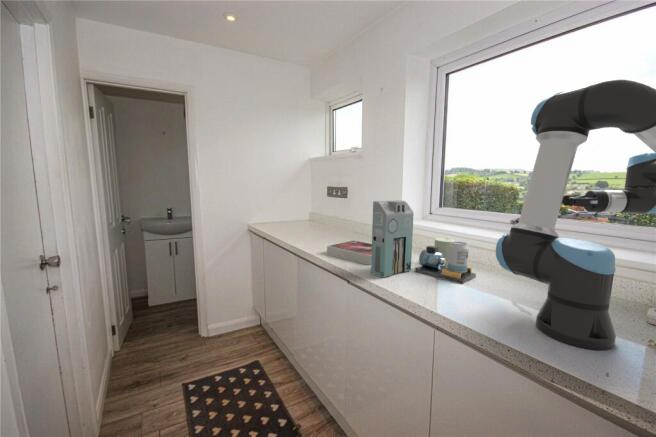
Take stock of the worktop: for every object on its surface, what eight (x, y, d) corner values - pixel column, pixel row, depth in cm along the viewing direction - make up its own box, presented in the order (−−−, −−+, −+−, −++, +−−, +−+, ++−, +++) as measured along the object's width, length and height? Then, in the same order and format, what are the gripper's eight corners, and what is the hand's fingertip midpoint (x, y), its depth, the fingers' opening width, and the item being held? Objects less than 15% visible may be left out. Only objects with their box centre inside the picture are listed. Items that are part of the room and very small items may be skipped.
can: (457, 263, 135) (458, 238, 134) (449, 267, 128) (451, 241, 127) (437, 260, 141) (439, 236, 140) (429, 263, 135) (431, 238, 133)
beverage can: (457, 269, 119) (459, 240, 118) (470, 274, 113) (472, 244, 111) (444, 270, 117) (445, 241, 116) (456, 275, 111) (458, 245, 109)
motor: (462, 283, 108) (464, 256, 106) (415, 271, 122) (416, 247, 121) (475, 277, 115) (477, 251, 114) (429, 266, 130) (431, 243, 129)
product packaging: (353, 248, 166) (353, 240, 165) (395, 257, 146) (396, 248, 146) (326, 255, 150) (327, 245, 150) (370, 266, 131) (371, 255, 130)
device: (384, 278, 113) (387, 202, 109) (370, 273, 119) (372, 201, 116) (411, 271, 123) (414, 201, 119) (397, 266, 129) (399, 200, 125)
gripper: (628, 216, 85) (545, 213, 91) (580, 209, 109) (516, 207, 115) (632, 191, 84) (548, 189, 90) (582, 189, 108) (518, 188, 114)
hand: (530, 199), depth 102 cm, fingers open, 13 cm apart
